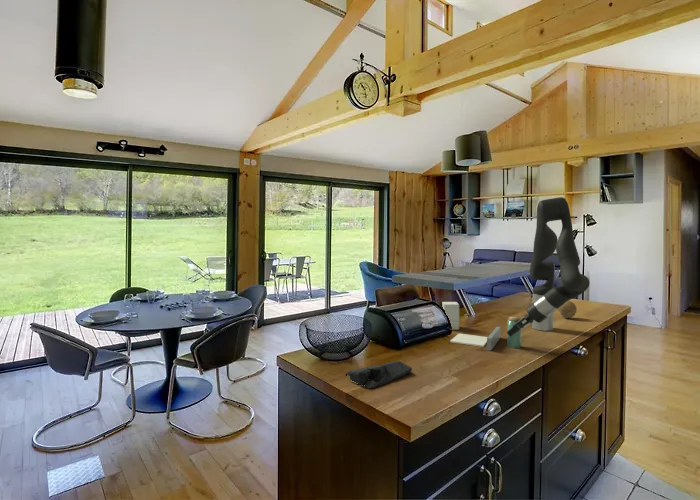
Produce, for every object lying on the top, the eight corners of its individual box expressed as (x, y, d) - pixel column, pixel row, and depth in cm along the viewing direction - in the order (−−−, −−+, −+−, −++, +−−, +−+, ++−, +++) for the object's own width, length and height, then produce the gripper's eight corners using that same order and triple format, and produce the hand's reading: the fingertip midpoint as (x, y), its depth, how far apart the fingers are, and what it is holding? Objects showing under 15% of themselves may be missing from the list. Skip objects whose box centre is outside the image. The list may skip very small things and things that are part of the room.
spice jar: (508, 343, 166) (508, 315, 165) (521, 345, 163) (521, 317, 163) (506, 347, 161) (506, 318, 161) (519, 348, 159) (520, 319, 158)
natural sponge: (562, 315, 219) (562, 298, 218) (579, 318, 212) (579, 300, 211) (555, 318, 213) (555, 300, 212) (572, 321, 206) (573, 302, 206)
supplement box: (456, 326, 197) (456, 301, 197) (459, 329, 190) (459, 304, 189) (442, 325, 198) (442, 301, 197) (444, 329, 191) (444, 304, 190)
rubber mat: (458, 334, 181) (458, 333, 181) (489, 338, 174) (489, 337, 174) (450, 342, 169) (450, 340, 169) (483, 346, 162) (483, 345, 162)
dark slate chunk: (419, 376, 130) (419, 363, 130) (367, 392, 118) (366, 377, 118) (390, 364, 143) (390, 351, 143) (340, 377, 131) (339, 363, 131)
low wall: (496, 337, 176) (496, 326, 176) (500, 337, 175) (500, 326, 175) (486, 350, 157) (486, 338, 157) (490, 350, 156) (491, 338, 156)
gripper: (539, 298, 162) (511, 322, 169) (529, 303, 151) (499, 328, 159) (553, 313, 158) (523, 336, 166) (544, 319, 147) (512, 343, 155)
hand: (512, 332), depth 162 cm, fingers open, 8 cm apart
